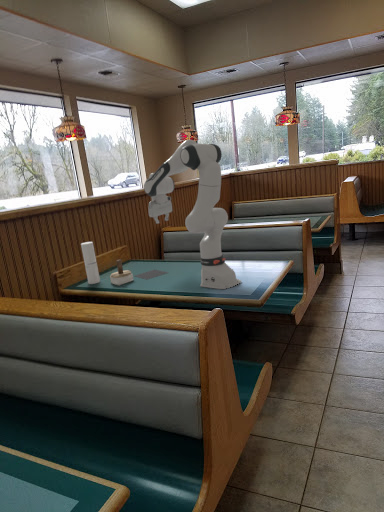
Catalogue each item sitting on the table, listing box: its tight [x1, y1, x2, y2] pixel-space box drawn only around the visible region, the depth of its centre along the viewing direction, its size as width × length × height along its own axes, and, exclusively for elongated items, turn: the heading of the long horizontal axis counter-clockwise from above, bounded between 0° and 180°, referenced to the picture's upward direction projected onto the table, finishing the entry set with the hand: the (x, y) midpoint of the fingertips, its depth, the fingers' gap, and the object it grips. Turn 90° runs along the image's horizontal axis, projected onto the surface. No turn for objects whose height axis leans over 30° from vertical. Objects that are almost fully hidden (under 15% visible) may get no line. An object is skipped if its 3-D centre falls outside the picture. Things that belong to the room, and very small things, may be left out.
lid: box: [110, 259, 132, 278], centre depth 227 cm, size 12×12×9 cm
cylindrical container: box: [80, 241, 101, 285], centre depth 234 cm, size 7×7×25 cm
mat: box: [134, 269, 169, 281], centre depth 236 cm, size 16×16×1 cm
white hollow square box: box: [109, 273, 134, 286], centre depth 229 cm, size 10×10×4 cm
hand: (162, 222), depth 234 cm, fingers open, 8 cm apart
